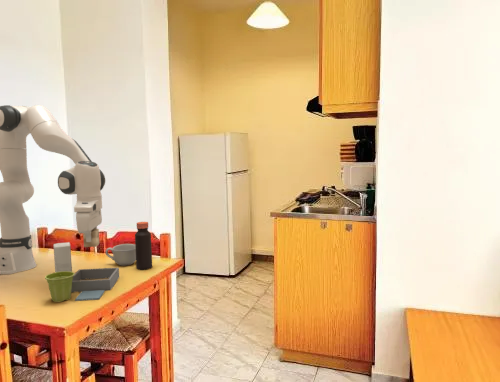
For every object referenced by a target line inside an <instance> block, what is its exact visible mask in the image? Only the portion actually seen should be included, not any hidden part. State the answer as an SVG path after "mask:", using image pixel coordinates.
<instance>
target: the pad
mask: <svg viewBox="0 0 500 382" xmlns="http://www.w3.org/2000/svg"><path fill="white" fill-rule="evenodd" d="M104 294H105V290H96V291H82V292H79V294H78V295H77V296H76V298H75V300H74V301H75V302H76V301H78V302H79V301H96V300H97V301H98V300H100V299H101V298H102V296H104Z"/></svg>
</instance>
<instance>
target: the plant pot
mask: <svg viewBox="0 0 500 382" xmlns="http://www.w3.org/2000/svg"><path fill="white" fill-rule="evenodd" d="M75 273H76V272H73V271H72V272H70V271H62V272H55V271H54V272H50V273H49V274H46V275H45V276H44V279H45V280H46V282H47V284H48V289H49V294H50V298H51V301H53V302H56V303H57V302H58V303H60V302H61V303H62V302H64V301H68V300H70V299H71V298H72V292H71V289H72V280H73V276H74V274H75Z"/></svg>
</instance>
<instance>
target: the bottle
mask: <svg viewBox="0 0 500 382" xmlns="http://www.w3.org/2000/svg"><path fill="white" fill-rule="evenodd" d="M136 229H137V231H136V232H135V234H134V245H135V248H136V261H135V265H136V266H135V268H136V269H137V270H139V269H140V270H142V271H143V270H144V269H145V270H149V268H150V269H152V268H153V255H152V253H153V251H152V233H151V232H150V231H149V221H139V222H136ZM151 267H152V268H151Z"/></svg>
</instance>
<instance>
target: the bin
mask: <svg viewBox="0 0 500 382" xmlns="http://www.w3.org/2000/svg"><path fill="white" fill-rule="evenodd" d="M74 273H75V274H74V276H73V280H72V289H71V293H81V292H82V291H96V290H105V291H112V289H113V287H115V284H116V283H117V281H118V280H119V279H120V268H119V267H107V268H106V267H104V268H101V267H100V268H83V269H82V268H81V269H78V270H77V271H76V272H74Z"/></svg>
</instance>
